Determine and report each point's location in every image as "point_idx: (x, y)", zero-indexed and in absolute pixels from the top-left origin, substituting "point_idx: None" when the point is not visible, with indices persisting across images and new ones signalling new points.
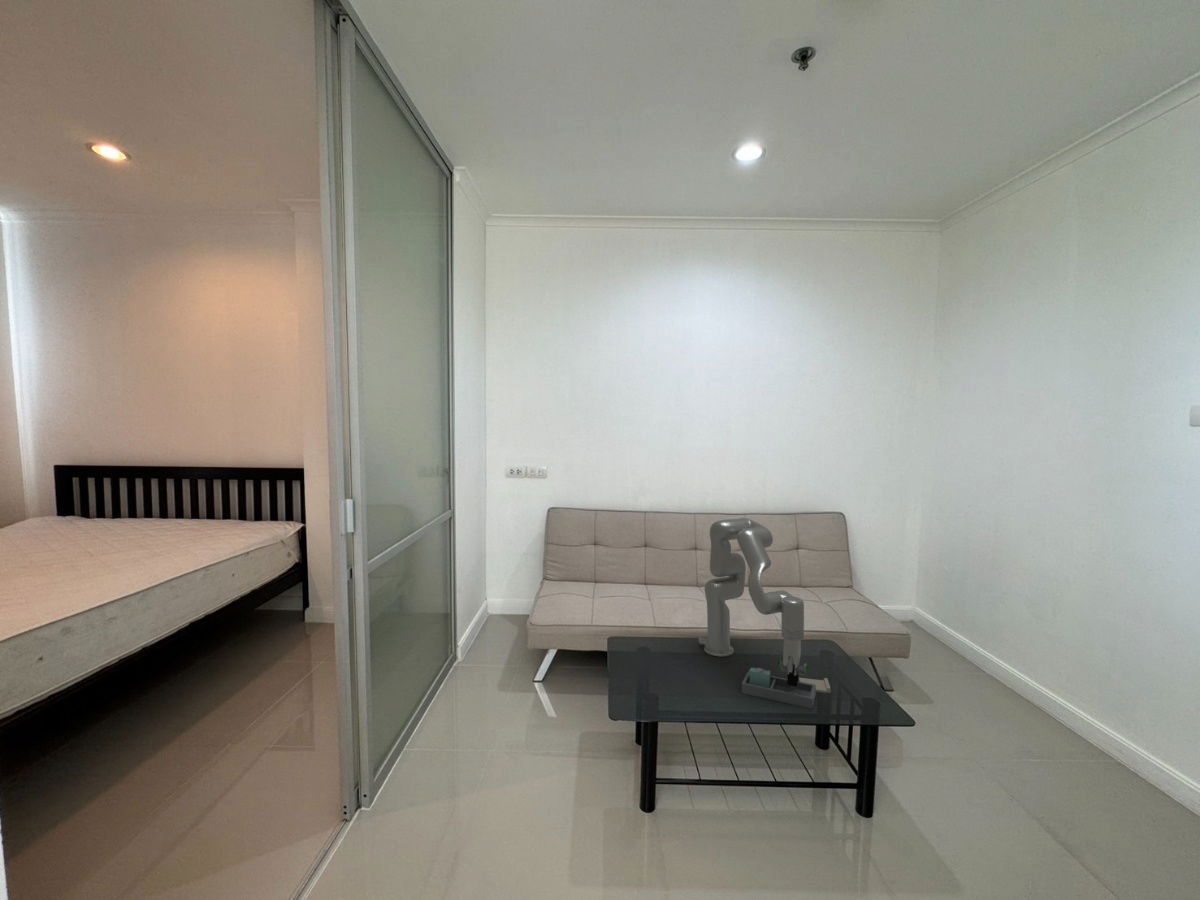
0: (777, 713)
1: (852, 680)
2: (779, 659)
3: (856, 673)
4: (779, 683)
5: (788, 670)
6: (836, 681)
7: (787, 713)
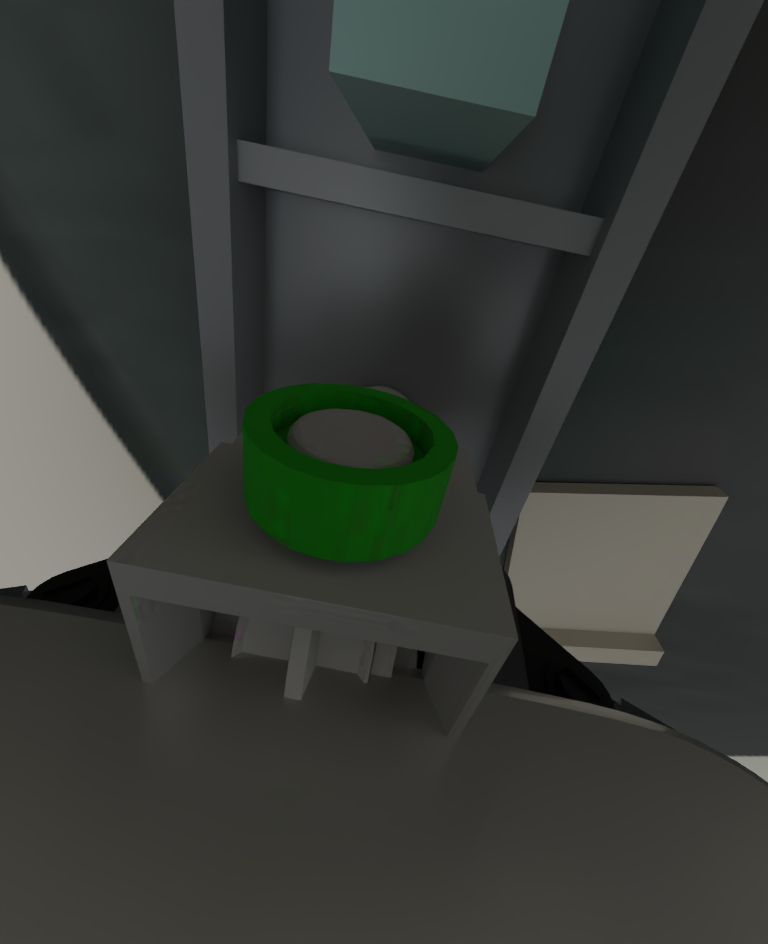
0: (21, 252)
1: None
2: (317, 538)
3: (751, 751)
4: (553, 301)
5: (45, 595)
6: (659, 672)
7: (83, 345)
